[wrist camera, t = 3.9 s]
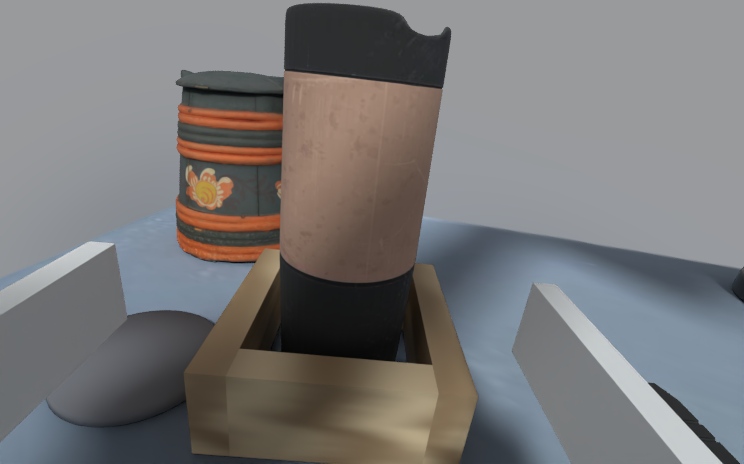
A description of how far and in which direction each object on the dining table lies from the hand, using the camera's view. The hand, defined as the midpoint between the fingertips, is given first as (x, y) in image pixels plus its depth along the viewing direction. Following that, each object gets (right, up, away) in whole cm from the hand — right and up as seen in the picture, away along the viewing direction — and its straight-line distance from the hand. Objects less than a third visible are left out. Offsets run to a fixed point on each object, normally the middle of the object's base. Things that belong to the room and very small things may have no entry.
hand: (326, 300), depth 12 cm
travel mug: (-1, -7, +12) cm, 14 cm away
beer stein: (-10, +1, +30) cm, 32 cm away
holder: (-1, -7, +12) cm, 14 cm away
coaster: (-13, -6, +11) cm, 18 cm away
